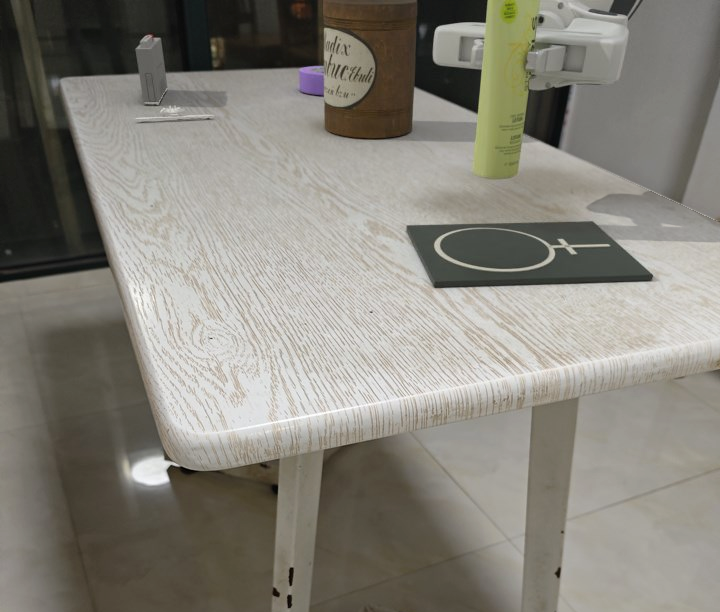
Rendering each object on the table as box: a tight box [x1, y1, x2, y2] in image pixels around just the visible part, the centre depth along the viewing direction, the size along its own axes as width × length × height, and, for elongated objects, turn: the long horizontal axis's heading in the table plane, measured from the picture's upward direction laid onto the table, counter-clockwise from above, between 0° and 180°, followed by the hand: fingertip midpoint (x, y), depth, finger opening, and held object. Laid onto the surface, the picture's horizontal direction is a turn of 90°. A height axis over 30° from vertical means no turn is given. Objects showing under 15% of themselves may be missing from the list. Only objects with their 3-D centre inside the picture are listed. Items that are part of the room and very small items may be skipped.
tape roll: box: [298, 65, 324, 96], centre depth 144 cm, size 12×12×4 cm
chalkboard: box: [405, 220, 654, 288], centre depth 75 cm, size 22×16×1 cm
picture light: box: [135, 105, 216, 119], centre depth 122 cm, size 14×4×2 cm, turn 108°
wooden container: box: [322, 0, 418, 139], centre depth 112 cm, size 15×15×22 cm
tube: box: [472, 0, 540, 180], centre depth 71 cm, size 6×5×20 cm
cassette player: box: [134, 34, 168, 103], centre depth 134 cm, size 16×3×10 cm, turn 6°
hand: (505, 60), depth 70 cm, fingers closed on tube, 4 cm apart
